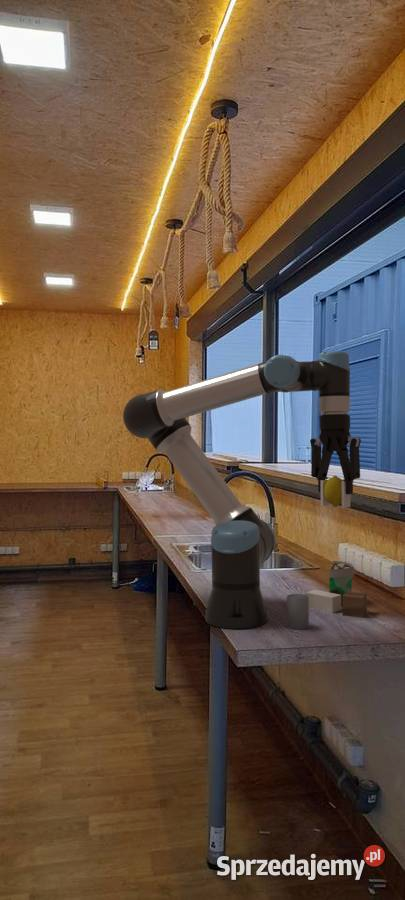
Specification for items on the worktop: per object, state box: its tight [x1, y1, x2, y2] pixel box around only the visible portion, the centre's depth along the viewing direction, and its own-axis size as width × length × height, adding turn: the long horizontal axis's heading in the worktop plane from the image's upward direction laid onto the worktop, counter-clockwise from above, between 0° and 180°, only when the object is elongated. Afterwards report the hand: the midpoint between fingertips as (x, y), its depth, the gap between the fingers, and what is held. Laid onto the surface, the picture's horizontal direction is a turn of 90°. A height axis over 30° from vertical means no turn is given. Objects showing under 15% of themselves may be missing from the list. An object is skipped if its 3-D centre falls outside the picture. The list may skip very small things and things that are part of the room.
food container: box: [328, 560, 356, 607], centre depth 168 cm, size 12×6×10 cm, turn 163°
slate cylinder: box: [286, 593, 310, 631], centre depth 148 cm, size 5×5×7 cm
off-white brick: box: [305, 589, 342, 614], centre depth 163 cm, size 4×8×4 cm, turn 45°
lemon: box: [324, 475, 343, 508], centre depth 159 cm, size 6×6×8 cm
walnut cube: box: [342, 591, 368, 619], centre depth 158 cm, size 5×5×5 cm
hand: (335, 506), depth 159 cm, fingers closed on lemon, 5 cm apart
